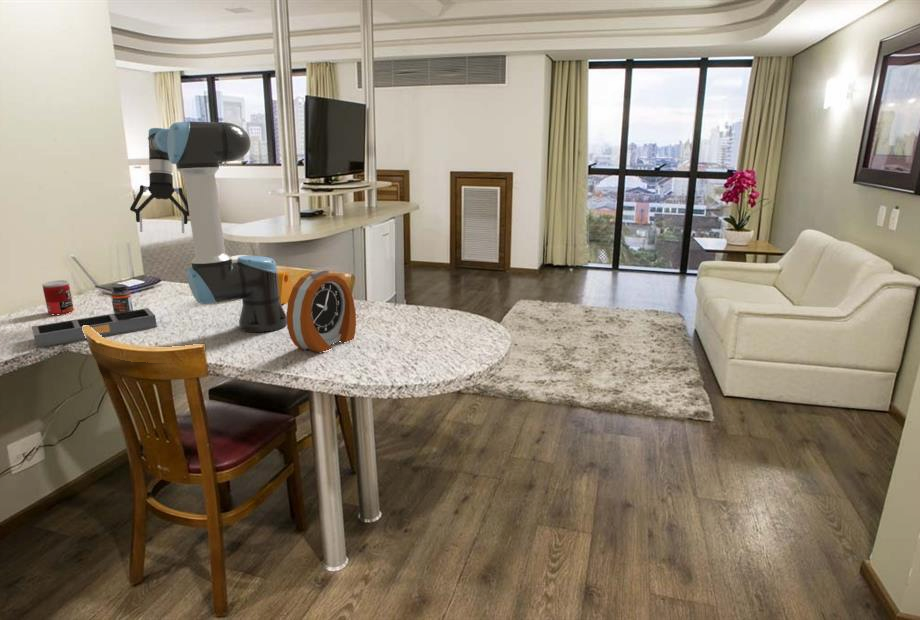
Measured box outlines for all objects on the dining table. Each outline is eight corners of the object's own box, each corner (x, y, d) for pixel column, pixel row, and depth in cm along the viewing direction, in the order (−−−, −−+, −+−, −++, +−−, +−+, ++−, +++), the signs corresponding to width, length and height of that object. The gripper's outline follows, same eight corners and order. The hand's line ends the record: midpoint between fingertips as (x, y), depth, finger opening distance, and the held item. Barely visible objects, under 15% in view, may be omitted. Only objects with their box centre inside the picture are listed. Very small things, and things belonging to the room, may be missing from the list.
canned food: (65, 315, 210) (59, 285, 207) (43, 315, 210) (36, 285, 207) (79, 309, 218) (73, 280, 215) (57, 309, 218) (51, 280, 215)
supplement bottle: (113, 320, 205) (107, 288, 202) (116, 315, 211) (111, 284, 207) (132, 318, 207) (127, 286, 204) (135, 313, 212) (130, 282, 209)
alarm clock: (314, 357, 170) (307, 280, 164) (288, 352, 175) (281, 276, 168) (362, 335, 189) (358, 265, 182) (338, 330, 193) (333, 262, 187)
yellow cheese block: (277, 298, 232) (274, 267, 229) (294, 298, 231) (292, 268, 227) (263, 305, 222) (260, 274, 218) (281, 306, 221) (278, 274, 217)
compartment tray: (157, 327, 197) (155, 315, 196) (36, 348, 178) (33, 335, 177) (149, 319, 206) (148, 308, 205) (34, 338, 187) (31, 326, 186)
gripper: (198, 177, 224) (199, 233, 226) (121, 171, 213) (123, 231, 215) (199, 174, 218) (200, 233, 219) (120, 168, 206) (122, 230, 208)
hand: (162, 232), depth 217 cm, fingers open, 13 cm apart
